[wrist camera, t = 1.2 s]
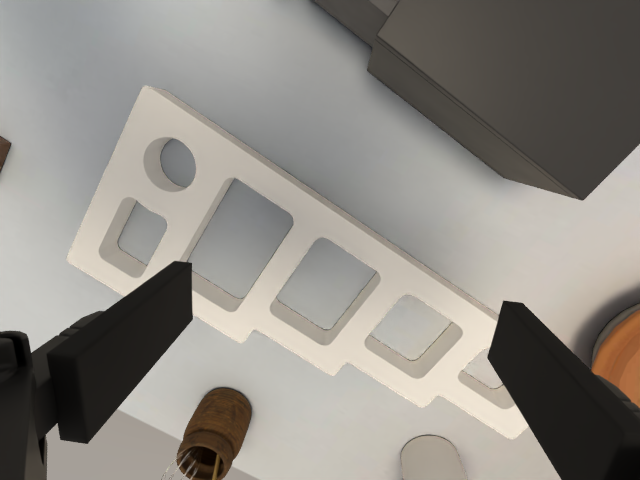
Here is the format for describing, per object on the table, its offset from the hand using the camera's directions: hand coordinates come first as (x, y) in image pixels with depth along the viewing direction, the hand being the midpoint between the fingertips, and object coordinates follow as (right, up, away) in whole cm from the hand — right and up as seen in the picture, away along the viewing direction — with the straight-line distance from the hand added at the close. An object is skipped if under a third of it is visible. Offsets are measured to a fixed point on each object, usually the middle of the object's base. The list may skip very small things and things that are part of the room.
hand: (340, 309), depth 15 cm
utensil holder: (-11, -16, +25) cm, 31 cm away
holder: (-1, -3, +20) cm, 20 cm away
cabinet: (+12, +17, +12) cm, 24 cm away
